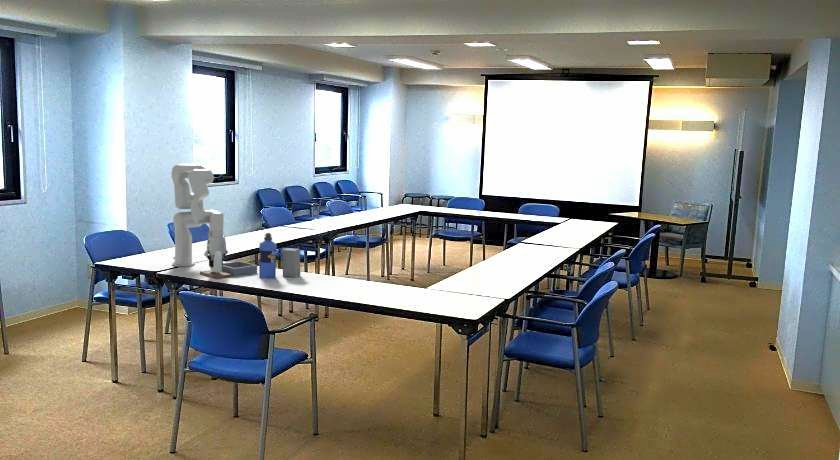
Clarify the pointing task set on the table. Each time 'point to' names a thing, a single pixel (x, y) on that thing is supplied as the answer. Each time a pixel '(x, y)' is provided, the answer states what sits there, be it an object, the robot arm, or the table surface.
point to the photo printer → (217, 262)
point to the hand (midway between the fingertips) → (215, 265)
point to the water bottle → (267, 258)
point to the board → (215, 274)
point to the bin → (239, 268)
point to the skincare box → (291, 262)
